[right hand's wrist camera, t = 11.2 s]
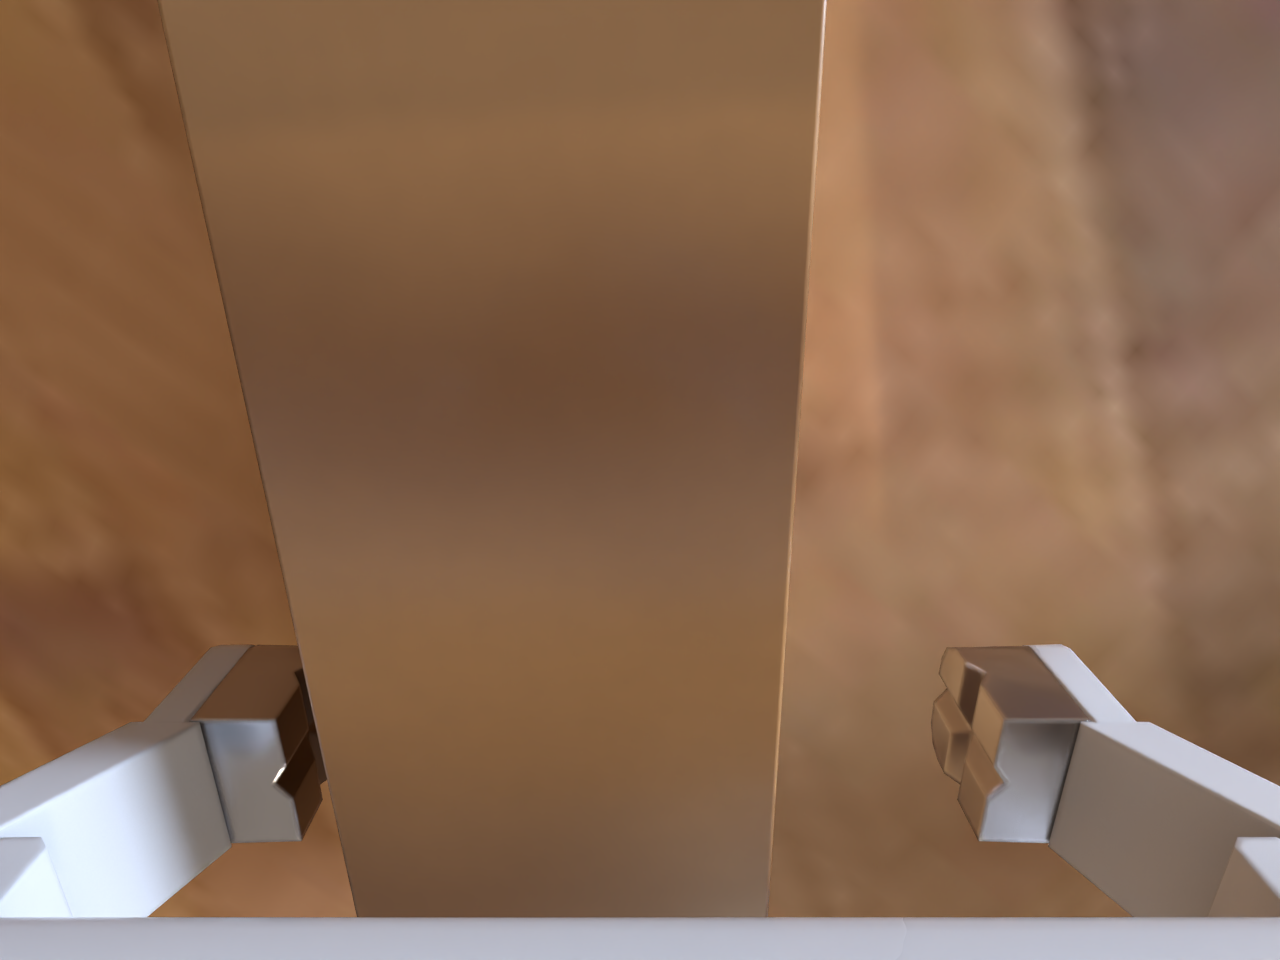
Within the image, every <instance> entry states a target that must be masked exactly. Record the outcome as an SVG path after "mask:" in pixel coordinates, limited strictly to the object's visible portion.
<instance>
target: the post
mask: <svg viewBox="0 0 1280 960" xmlns="http://www.w3.org/2000/svg"><path fill="white" fill-rule="evenodd" d="M157 2H158V6H159V11H160V16H161V20H162V25H163V29H164V34H165V39H166V43H167V48H168V52H169V57H170V61H171V66H172V71H173V75H174V80H175V84H176V89H177V94H178V98H179V103H180V107H181V112H182V116H183V121H184V126H185V130H186V135H187V139H188V144H189V149H190V153H191V158H192V162H193V167H194V171H195V176H196V181H197V185H198V190H199V194H200V199H201V204H202V208H203V213H204V217H205V222H206V226H207V231H208V236H209V240H210V245H211V249H212V254H213V259H214V263H215V268H216V272H217V277H218V281H219V286H220V291H221V295H222V300H223V304H224V309H225V314H226V318H227V323H228V327H229V332H230V336H231V341H232V346H233V350H234V355H235V359H236V364H237V369H238V373H239V378H240V382H241V387H242V391H243V396H244V401H245V405H246V410H247V414H248V419H249V424H250V428H251V433H252V437H253V442H254V446H255V451H256V456H257V460H258V465H259V469H260V474H261V479H262V483H263V488H264V492H265V497H266V502H267V506H268V511H269V515H270V520H271V524H272V529H273V534H274V538H275V543H276V547H277V552H278V557H279V561H280V566H281V570H282V575H283V579H284V584H285V589H286V593H287V598H288V602H289V607H290V612H291V616H292V621H293V625H294V630H295V634H296V639H297V644H298V648H299V653H300V657H301V662H302V667H303V671H304V676H305V680H306V685H307V689H308V694H309V699H310V703H311V708H312V712H313V717H314V722H315V726H316V731H317V735H318V740H319V744H320V749H321V754H322V758H323V763H324V767H325V772H326V777H327V781H328V786H329V790H330V795H331V799H332V804H333V809H334V813H335V818H336V822H337V827H338V832H339V836H340V841H341V845H342V850H343V854H344V859H345V864H346V868H347V873H348V877H349V882H350V887H351V891H352V896H353V900H354V905H355V910H356V914H357V917H455V918H585V917H768V908H769V892H770V877H771V861H772V846H773V831H774V815H775V800H776V784H777V769H778V753H779V738H780V723H781V707H782V692H783V676H784V661H785V645H786V630H787V615H788V599H789V584H790V568H791V553H792V537H793V522H794V506H795V491H796V476H797V460H798V445H799V429H800V414H801V398H802V383H803V368H804V352H805V337H806V321H807V306H808V290H809V275H810V260H811V244H812V229H813V213H814V198H815V182H816V167H817V151H818V136H819V121H820V105H821V90H822V74H823V59H824V43H825V28H826V13H827V0H157Z"/></svg>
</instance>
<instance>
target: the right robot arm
mask: <svg viewBox="0 0 1280 960" xmlns="http://www.w3.org/2000/svg"><path fill="white" fill-rule="evenodd" d="M939 675H940V677H941V679H942V680H943V682H944V684H945V686H946V687H947V689H946V690H945V691H944V692H943V693H942V694H941V695H940V696H939V697H938V698H937V699H936V700H935V701H934V704H933V711H932V719H931V729H932V740H933V746H934V749H935V753H936V756H937V759H938V762H939V764H940V766H941V768H942V770H943V772H944V774H946V775H947V776H949V777H950V778H951V779H953V780H954V781H956V782H957V783H959V784H960V788H959V793H958V799H957V800H958V802H959V804H960V806H961V808H962V810H963V812H964V814H965V816H966V818H967V819H968V821H969V823H970V825H971V827H972V829H973V831H974V833H975V835H976V837H977V839H978V841H994V842H1030V843H1049V845H1048V847H1050V848H1051V849H1052V850H1053V851H1054V852H1056V853H1057V854H1058V855H1059V856H1060V857H1062V858H1063V859H1064V860H1065V861H1066V862H1068V863H1069V864H1070V865H1071V866H1073V867H1074V868H1075V869H1076V870H1077V871H1079V872H1080V873H1081V874H1082V875H1083V876H1085V877H1086V878H1087V879H1088V880H1089V881H1091V882H1092V883H1093V884H1094V885H1095V886H1097V887H1098V888H1099V889H1100V890H1101V891H1103V892H1104V893H1105V894H1106V895H1107V896H1109V897H1110V898H1111V899H1112V900H1113V901H1115V902H1116V903H1117V904H1118V905H1119V906H1121V907H1122V908H1123V909H1124V910H1125V911H1127V912H1128V913H1129V914H1130V915H1131V916H1133V917H585V918H455V917H148V916H149V915H150V914H151V913H152V912H154V911H155V910H156V909H157V908H158V907H160V906H161V905H162V904H163V903H164V902H166V901H167V900H168V899H169V898H170V897H172V896H173V895H174V894H175V893H177V892H178V891H179V890H180V889H181V888H183V887H184V886H185V885H186V884H187V883H189V882H190V881H191V880H192V879H193V878H195V877H196V876H197V875H198V874H199V873H201V872H202V871H203V870H204V869H205V868H207V867H208V866H209V865H210V864H211V863H213V862H214V861H215V860H216V859H217V858H219V857H220V856H221V855H222V854H224V853H225V852H226V851H227V850H228V849H230V848H231V846H232V845H231V843H250V842H285V841H302V839H303V837H304V835H305V833H306V831H307V829H308V827H309V826H310V824H311V822H312V820H313V818H314V816H315V814H316V812H317V810H318V808H319V806H320V804H321V802H322V800H323V799H322V793H321V788H320V784H321V783H323V782H324V781H326V780H327V777H326V772H325V767H324V763H323V758H322V754H321V749H320V744H319V740H318V735H317V731H316V726H315V722H314V717H313V712H312V708H311V703H310V699H309V694H308V689H307V685H306V680H305V676H304V671H303V667H302V662H301V657H300V653H299V648H298V646H290V645H256V646H255V645H218V646H215V647H211V648H210V649H209V650H208V651H207V652H206V653H205V654H204V656H203V657H202V658H201V659H200V660H199V661H198V662H197V663H196V664H195V665H194V667H193V668H192V669H191V670H190V671H189V672H188V673H187V674H186V675H185V677H184V678H183V679H182V680H181V681H180V682H179V683H178V684H177V685H176V686H175V688H174V689H173V690H172V691H171V692H170V693H169V694H168V695H167V696H166V698H165V699H164V700H163V701H162V702H161V703H160V704H159V705H158V706H157V707H156V709H155V710H154V711H153V712H152V713H151V714H150V715H149V716H148V717H147V719H146V720H145V721H144V722H130V723H128V724H126V725H124V726H122V727H120V728H118V729H116V730H114V731H112V732H110V733H108V734H105V735H103V736H101V737H99V738H97V739H95V740H93V741H91V742H89V743H87V744H85V745H83V746H81V747H79V748H77V749H75V750H73V751H71V752H69V753H67V754H65V755H63V756H61V757H59V758H57V759H55V760H53V761H50V762H48V763H46V764H44V765H42V766H40V767H38V768H36V769H34V770H32V771H30V772H28V773H26V774H24V775H22V776H20V777H18V778H16V779H14V780H12V781H10V782H8V783H6V784H4V785H2V786H0V960H1280V786H1278V785H1276V784H1274V783H1272V782H1270V781H1268V780H1266V779H1264V778H1262V777H1260V776H1258V775H1256V774H1254V773H1252V772H1250V771H1248V770H1246V769H1244V768H1242V767H1240V766H1237V765H1235V764H1233V763H1231V762H1229V761H1227V760H1225V759H1223V758H1221V757H1219V756H1217V755H1215V754H1213V753H1211V752H1209V751H1207V750H1205V749H1203V748H1201V747H1199V746H1197V745H1195V744H1193V743H1191V742H1189V741H1187V740H1185V739H1183V738H1181V737H1179V736H1177V735H1174V734H1172V733H1170V732H1168V731H1166V730H1164V729H1162V728H1160V727H1158V726H1156V725H1154V724H1152V723H1150V722H1136V721H1135V720H1134V719H1133V717H1132V716H1131V715H1130V714H1129V713H1128V712H1127V711H1126V710H1125V709H1124V707H1123V706H1122V705H1121V704H1120V703H1119V702H1118V701H1117V700H1116V699H1115V697H1114V696H1113V695H1112V694H1111V693H1110V692H1109V691H1108V690H1107V689H1106V688H1105V686H1104V685H1103V684H1102V683H1101V682H1100V681H1099V680H1098V679H1097V678H1096V676H1095V675H1094V674H1093V673H1092V672H1091V671H1090V670H1089V669H1088V668H1087V667H1086V665H1085V664H1084V663H1083V662H1082V661H1081V660H1080V659H1079V658H1078V657H1077V655H1076V654H1075V653H1074V652H1073V651H1072V650H1071V649H1070V648H1068V647H1066V646H1064V645H1061V644H1049V645H1023V646H998V647H947V648H946V650H945V652H944V654H943V656H942V658H941V664H940V669H939Z"/></svg>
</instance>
